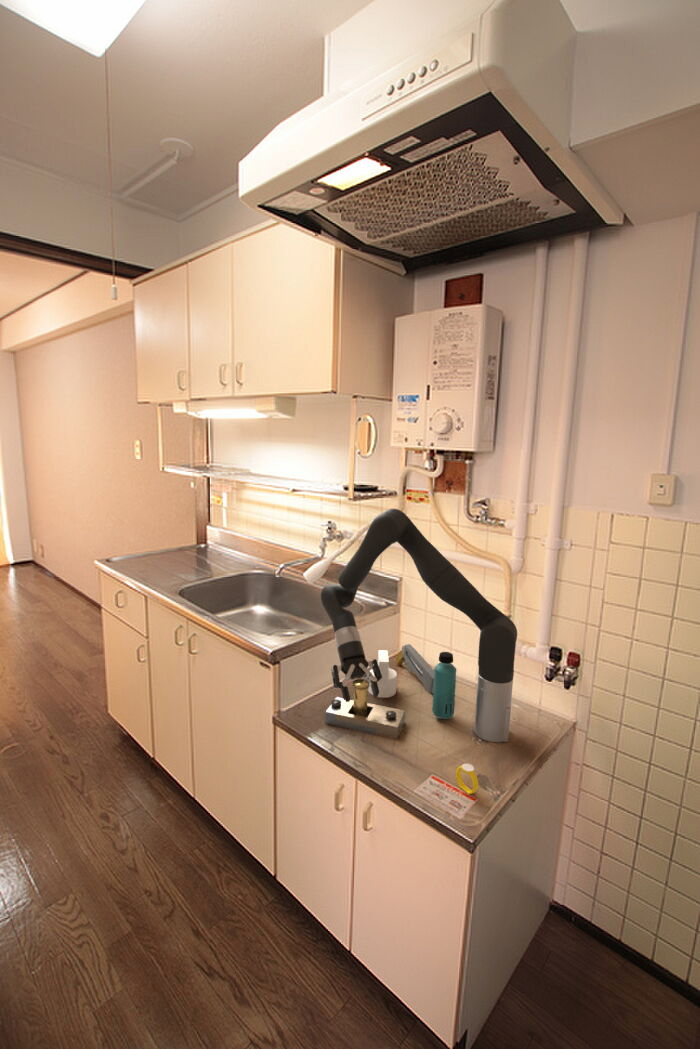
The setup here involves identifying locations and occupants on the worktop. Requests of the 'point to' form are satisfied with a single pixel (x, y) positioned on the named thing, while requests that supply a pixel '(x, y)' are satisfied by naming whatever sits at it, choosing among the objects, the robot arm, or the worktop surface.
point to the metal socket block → (377, 722)
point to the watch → (470, 770)
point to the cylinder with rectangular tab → (385, 676)
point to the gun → (417, 666)
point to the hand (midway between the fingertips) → (362, 698)
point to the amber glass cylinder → (360, 697)
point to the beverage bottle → (444, 687)
